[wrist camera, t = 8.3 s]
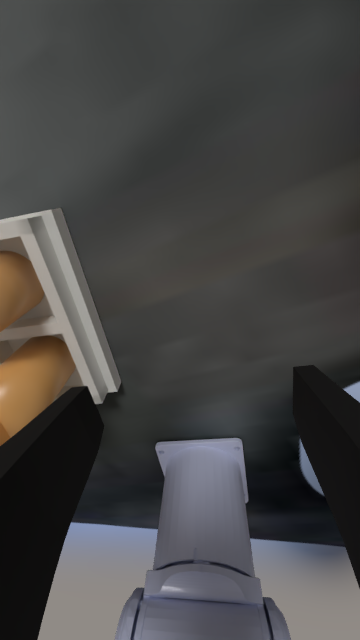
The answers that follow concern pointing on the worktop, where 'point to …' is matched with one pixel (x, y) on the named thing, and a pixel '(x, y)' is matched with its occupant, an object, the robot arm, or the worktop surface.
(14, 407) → the peg
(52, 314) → the housing
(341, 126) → the worktop surface
